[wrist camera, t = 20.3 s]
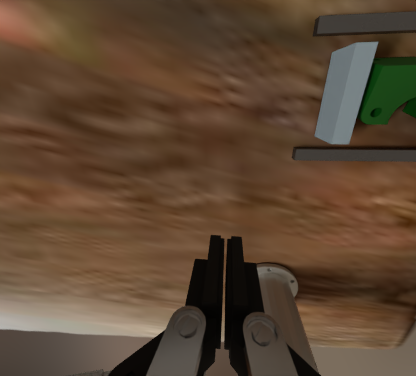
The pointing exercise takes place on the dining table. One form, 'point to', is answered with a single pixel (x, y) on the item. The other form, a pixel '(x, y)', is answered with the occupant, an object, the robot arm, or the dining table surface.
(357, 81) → the block
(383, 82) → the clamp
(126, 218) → the dining table surface
